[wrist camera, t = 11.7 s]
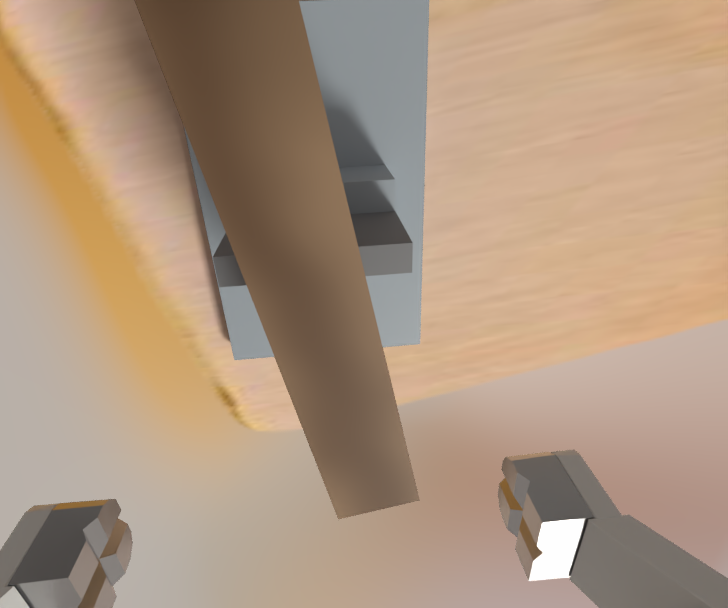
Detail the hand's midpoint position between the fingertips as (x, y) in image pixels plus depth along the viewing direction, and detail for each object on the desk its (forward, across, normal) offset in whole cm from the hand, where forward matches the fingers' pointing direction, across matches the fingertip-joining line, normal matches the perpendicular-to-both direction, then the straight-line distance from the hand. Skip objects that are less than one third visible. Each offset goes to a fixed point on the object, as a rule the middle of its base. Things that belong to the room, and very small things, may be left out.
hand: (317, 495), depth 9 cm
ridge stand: (+23, 0, 0) cm, 23 cm away
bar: (+12, 0, 0) cm, 13 cm away
